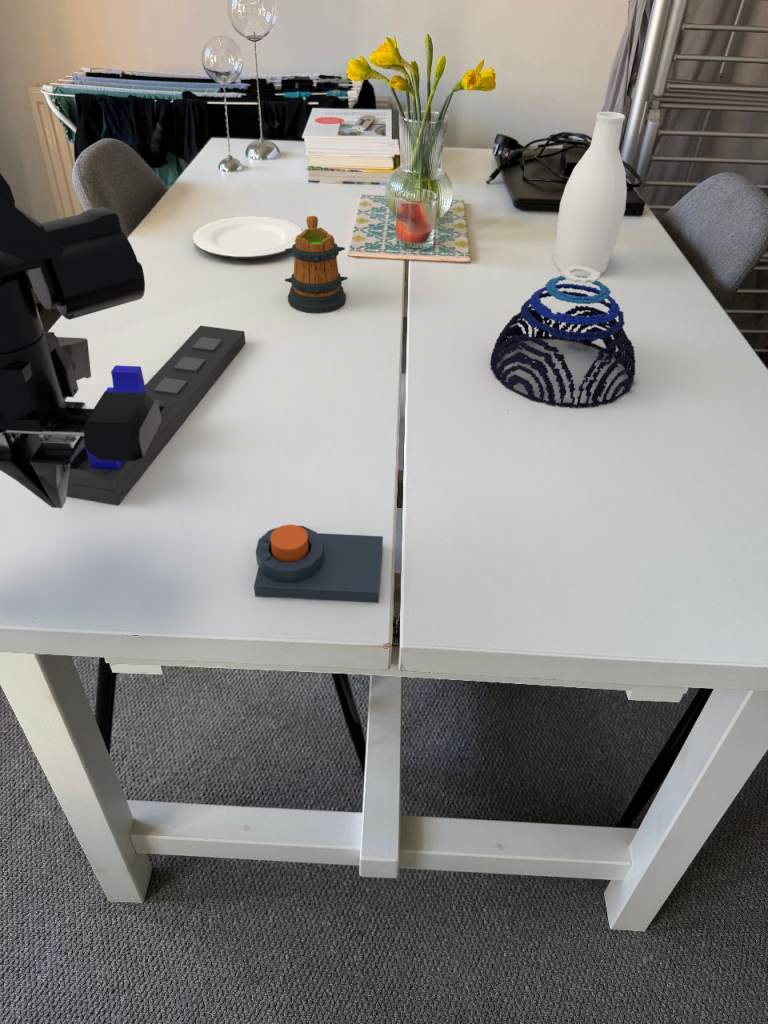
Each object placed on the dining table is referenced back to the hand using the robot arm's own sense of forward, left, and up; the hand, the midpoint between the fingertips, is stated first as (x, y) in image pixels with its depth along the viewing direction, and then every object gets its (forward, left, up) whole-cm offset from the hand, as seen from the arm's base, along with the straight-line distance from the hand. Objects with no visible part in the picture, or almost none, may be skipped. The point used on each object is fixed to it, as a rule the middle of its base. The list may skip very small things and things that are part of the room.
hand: (59, 504), depth 62 cm
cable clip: (-8, +21, -9) cm, 24 cm away
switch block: (+20, +9, -12) cm, 25 cm away
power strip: (-8, +33, -12) cm, 36 cm away
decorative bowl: (+42, +57, -12) cm, 72 cm away
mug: (+1, +71, -12) cm, 72 cm away
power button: (+17, +9, -9) cm, 21 cm away
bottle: (+44, +96, -12) cm, 106 cm away
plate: (-18, +90, -12) cm, 93 cm away
